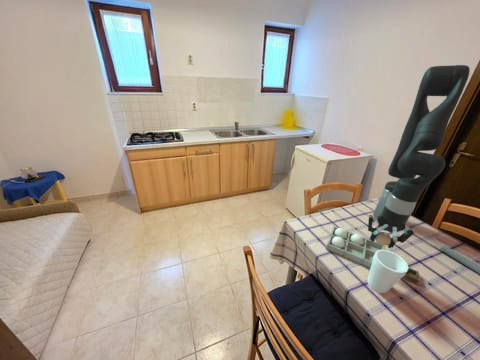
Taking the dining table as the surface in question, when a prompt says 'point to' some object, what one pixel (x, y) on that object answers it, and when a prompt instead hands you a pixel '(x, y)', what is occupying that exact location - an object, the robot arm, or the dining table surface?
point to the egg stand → (412, 276)
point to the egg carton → (355, 249)
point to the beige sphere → (383, 238)
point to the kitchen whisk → (453, 254)
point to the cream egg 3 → (357, 239)
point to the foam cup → (386, 270)
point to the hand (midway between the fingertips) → (380, 243)
